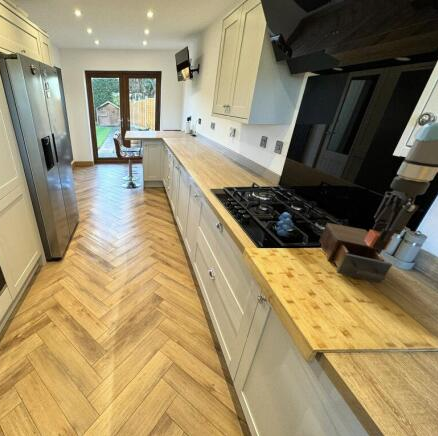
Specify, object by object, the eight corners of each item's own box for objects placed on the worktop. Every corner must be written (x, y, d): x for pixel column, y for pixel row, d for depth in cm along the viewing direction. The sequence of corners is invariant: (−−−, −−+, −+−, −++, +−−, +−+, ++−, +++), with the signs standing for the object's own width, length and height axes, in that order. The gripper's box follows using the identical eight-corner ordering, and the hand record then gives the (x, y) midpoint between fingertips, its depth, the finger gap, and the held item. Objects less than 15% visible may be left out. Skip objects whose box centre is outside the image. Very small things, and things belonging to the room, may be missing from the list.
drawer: (387, 293, 76) (400, 274, 73) (341, 281, 80) (351, 263, 77) (363, 260, 93) (373, 243, 89) (326, 252, 97) (334, 235, 94)
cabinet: (370, 270, 89) (383, 248, 84) (327, 260, 93) (337, 239, 89) (355, 249, 102) (365, 229, 98) (318, 241, 106) (327, 222, 102)
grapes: (293, 243, 104) (302, 219, 98) (276, 240, 105) (285, 216, 100) (286, 231, 114) (295, 208, 109) (271, 228, 115) (279, 206, 110)
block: (379, 243, 82) (386, 232, 80) (385, 250, 78) (392, 238, 76) (363, 240, 83) (369, 229, 81) (369, 246, 79) (375, 235, 77)
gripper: (450, 189, 61) (402, 261, 72) (412, 173, 76) (376, 235, 86) (413, 184, 64) (372, 255, 74) (383, 170, 78) (352, 230, 89)
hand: (374, 244), depth 80 cm, fingers closed on block, 4 cm apart
